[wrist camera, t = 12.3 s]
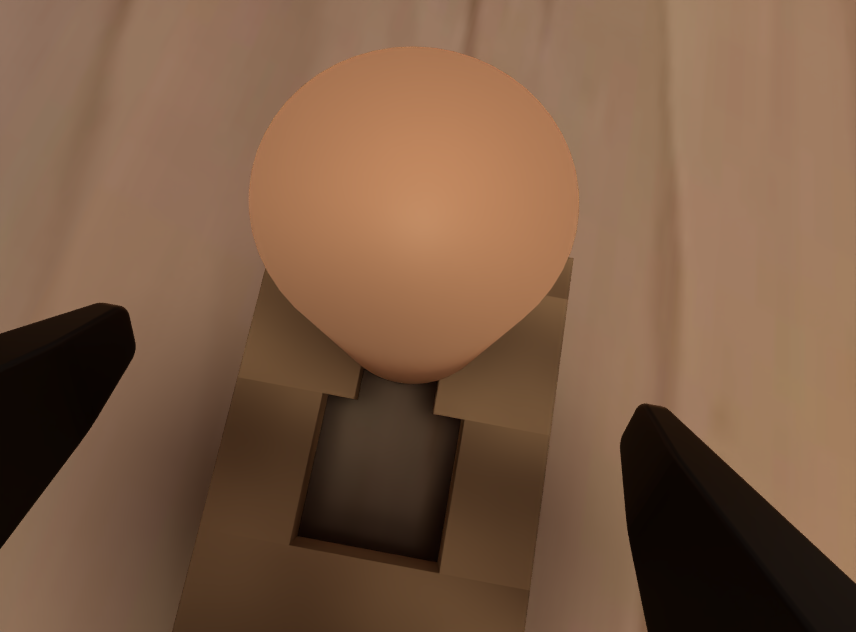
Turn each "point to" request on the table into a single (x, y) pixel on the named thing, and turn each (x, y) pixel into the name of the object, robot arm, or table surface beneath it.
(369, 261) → the terracotta peg
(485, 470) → the walnut keyhole board
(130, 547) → the table surface
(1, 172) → the table surface
